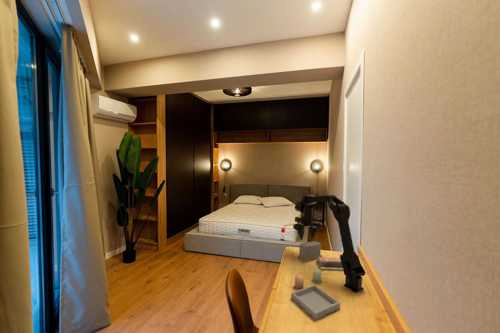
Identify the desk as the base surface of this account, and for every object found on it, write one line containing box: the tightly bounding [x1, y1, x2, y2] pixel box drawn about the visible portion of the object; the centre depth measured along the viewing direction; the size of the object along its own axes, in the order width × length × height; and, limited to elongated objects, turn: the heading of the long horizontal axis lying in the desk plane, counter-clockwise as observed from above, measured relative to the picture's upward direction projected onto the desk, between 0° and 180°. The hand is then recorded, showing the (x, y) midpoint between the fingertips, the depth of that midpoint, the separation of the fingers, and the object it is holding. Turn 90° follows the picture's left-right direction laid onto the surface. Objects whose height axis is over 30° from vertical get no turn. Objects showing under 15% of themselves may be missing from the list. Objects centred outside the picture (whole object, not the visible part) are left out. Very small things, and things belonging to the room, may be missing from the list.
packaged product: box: [315, 256, 344, 272], centre depth 122 cm, size 18×5×10 cm
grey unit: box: [296, 240, 323, 263], centre depth 131 cm, size 6×15×9 cm, turn 119°
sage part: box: [312, 268, 322, 284], centre depth 107 cm, size 4×4×5 cm
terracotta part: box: [294, 273, 305, 290], centre depth 101 cm, size 4×4×5 cm
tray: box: [290, 284, 341, 321], centre depth 89 cm, size 14×14×3 cm
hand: (306, 239), depth 134 cm, fingers open, 9 cm apart
